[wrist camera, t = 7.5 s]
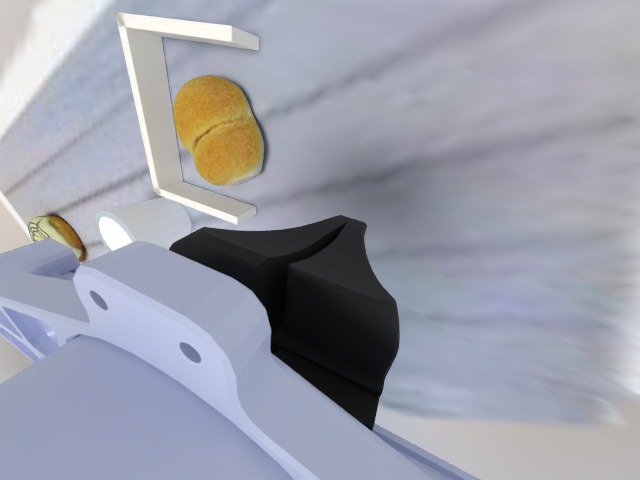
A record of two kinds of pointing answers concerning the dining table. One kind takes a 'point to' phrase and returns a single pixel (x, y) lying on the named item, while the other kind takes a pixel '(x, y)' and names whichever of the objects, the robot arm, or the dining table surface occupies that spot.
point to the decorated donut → (55, 233)
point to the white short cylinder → (143, 223)
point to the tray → (156, 106)
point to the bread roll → (219, 130)
